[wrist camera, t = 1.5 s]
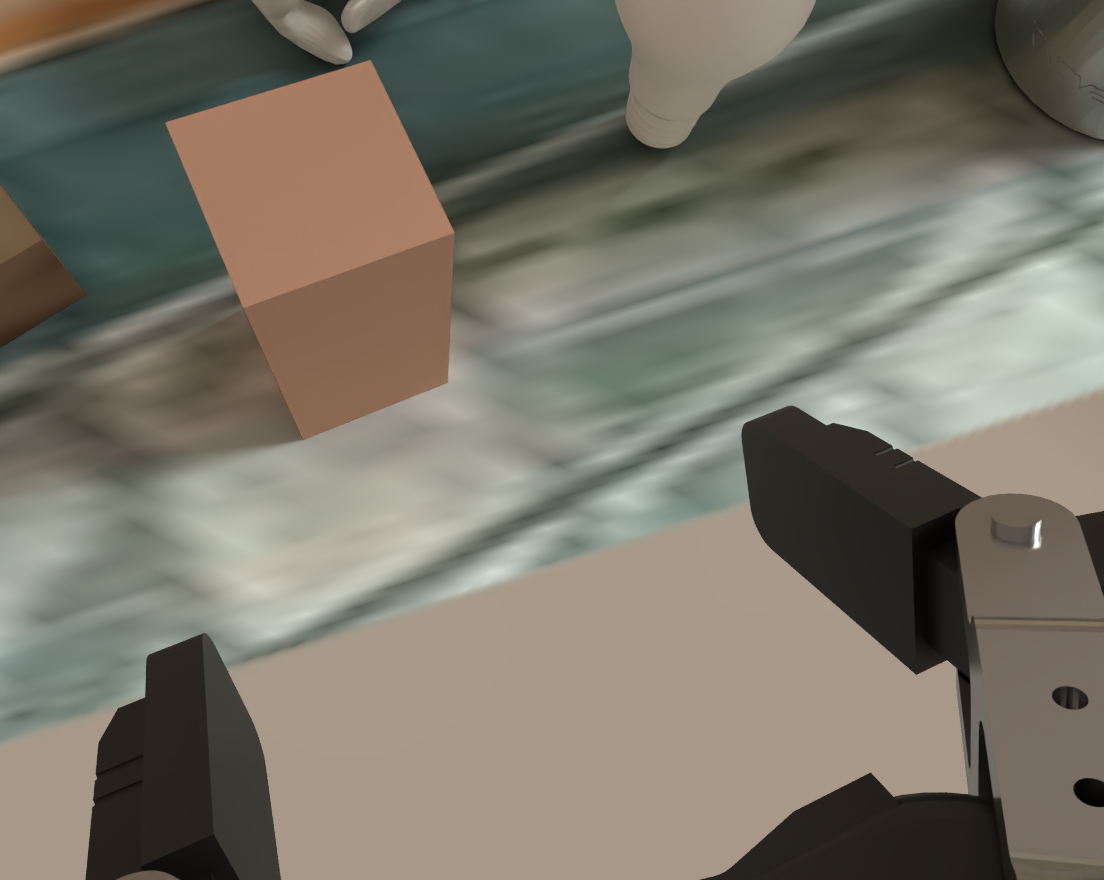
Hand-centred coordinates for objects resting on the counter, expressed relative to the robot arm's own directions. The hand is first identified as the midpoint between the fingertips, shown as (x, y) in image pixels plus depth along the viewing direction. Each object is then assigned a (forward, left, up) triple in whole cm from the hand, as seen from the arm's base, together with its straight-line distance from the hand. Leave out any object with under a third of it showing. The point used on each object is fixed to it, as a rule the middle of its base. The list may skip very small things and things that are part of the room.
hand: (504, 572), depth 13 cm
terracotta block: (-3, -10, -16) cm, 19 cm away
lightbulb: (-17, -10, -16) cm, 26 cm away
